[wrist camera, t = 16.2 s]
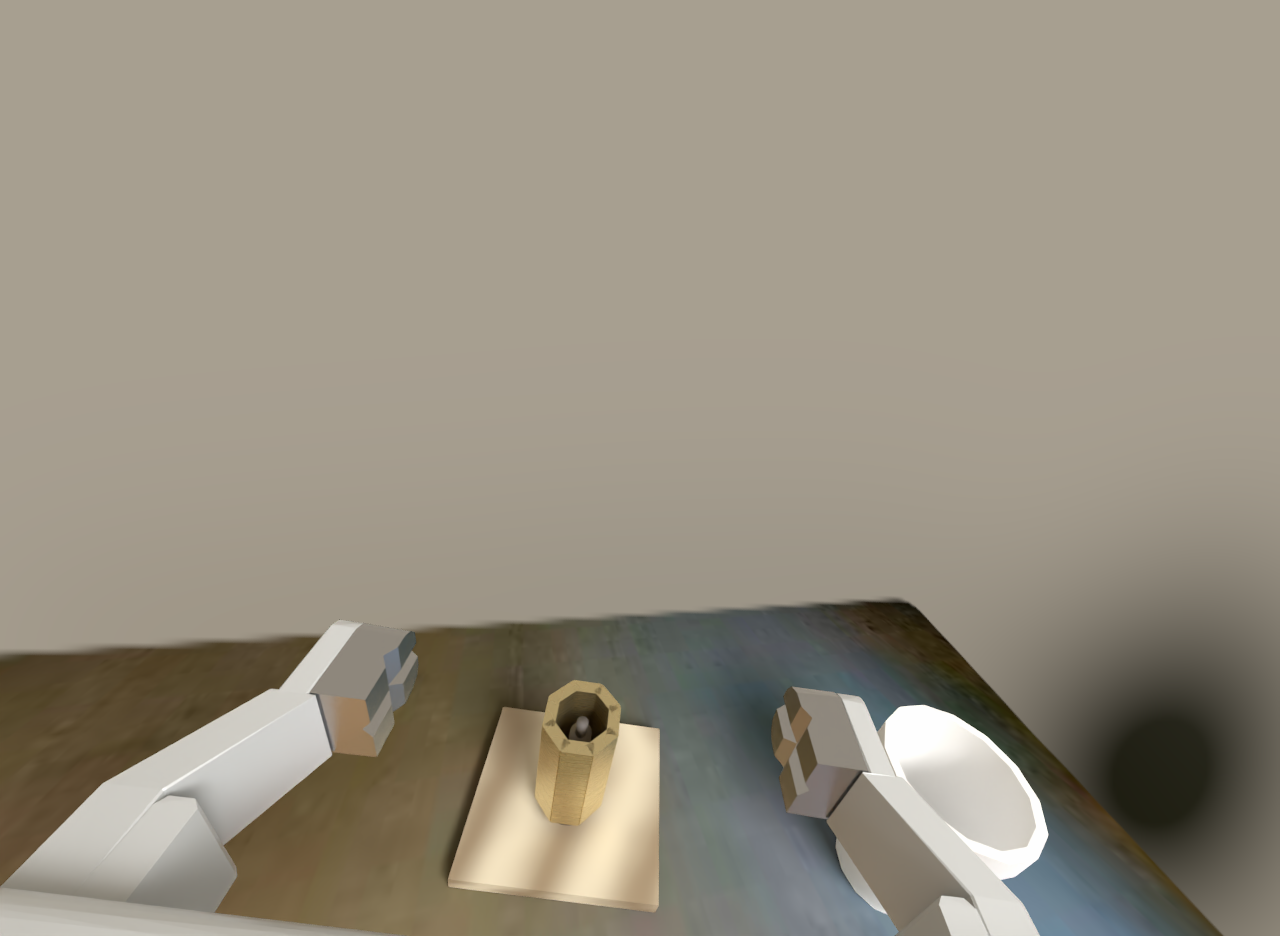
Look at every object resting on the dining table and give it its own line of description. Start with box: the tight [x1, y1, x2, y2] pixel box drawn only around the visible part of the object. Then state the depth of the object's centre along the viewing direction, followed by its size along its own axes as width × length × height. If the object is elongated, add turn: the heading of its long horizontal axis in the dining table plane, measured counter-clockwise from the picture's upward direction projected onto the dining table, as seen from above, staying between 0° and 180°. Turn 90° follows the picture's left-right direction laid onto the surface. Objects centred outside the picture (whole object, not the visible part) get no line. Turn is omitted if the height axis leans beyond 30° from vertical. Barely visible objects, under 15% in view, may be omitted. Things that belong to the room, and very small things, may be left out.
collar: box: [535, 680, 621, 826], centre depth 33 cm, size 5×5×9 cm
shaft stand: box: [448, 707, 659, 912], centre depth 34 cm, size 14×12×10 cm
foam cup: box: [836, 705, 1048, 915], centre depth 33 cm, size 10×9×13 cm
